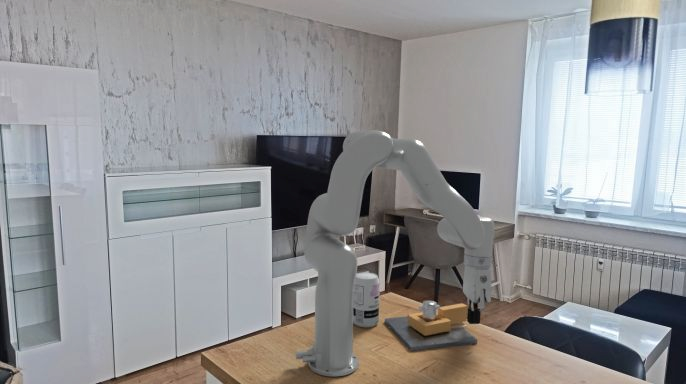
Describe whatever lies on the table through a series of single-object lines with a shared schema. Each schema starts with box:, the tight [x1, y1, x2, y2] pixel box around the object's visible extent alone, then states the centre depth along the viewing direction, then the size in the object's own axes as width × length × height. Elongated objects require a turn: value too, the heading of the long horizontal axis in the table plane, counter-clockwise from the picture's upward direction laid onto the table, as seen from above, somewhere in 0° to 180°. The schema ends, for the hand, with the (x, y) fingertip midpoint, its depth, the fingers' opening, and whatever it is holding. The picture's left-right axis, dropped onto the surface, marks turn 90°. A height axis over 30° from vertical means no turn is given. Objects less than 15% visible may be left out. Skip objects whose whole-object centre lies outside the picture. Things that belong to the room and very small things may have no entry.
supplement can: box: [353, 271, 381, 329], centre depth 142 cm, size 8×8×15 cm
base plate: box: [384, 300, 478, 352], centre depth 136 cm, size 22×20×9 cm
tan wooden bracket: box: [407, 303, 468, 336], centre depth 138 cm, size 9×18×5 cm, turn 115°
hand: (473, 322), depth 133 cm, fingers closed
